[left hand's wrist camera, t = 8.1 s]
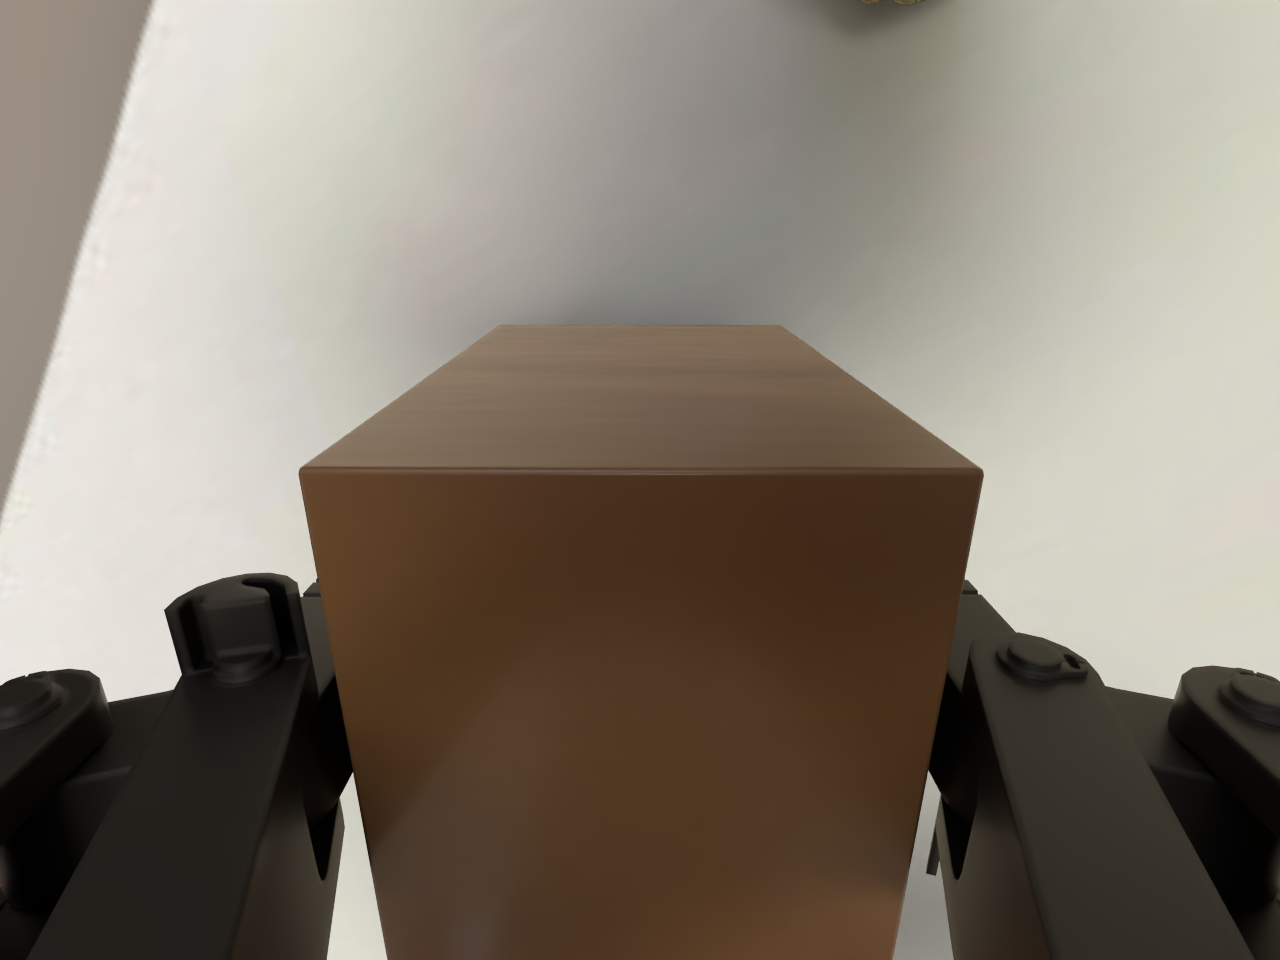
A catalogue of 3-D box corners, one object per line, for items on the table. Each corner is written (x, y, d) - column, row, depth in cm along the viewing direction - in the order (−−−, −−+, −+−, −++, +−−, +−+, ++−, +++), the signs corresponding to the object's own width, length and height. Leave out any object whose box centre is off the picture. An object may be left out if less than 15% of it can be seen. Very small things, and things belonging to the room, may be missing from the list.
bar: (498, 324, 13) (294, 468, 5) (782, 325, 13) (988, 470, 5) (548, 1045, 21) (493, 1543, 13) (729, 1045, 21) (783, 1543, 13)
